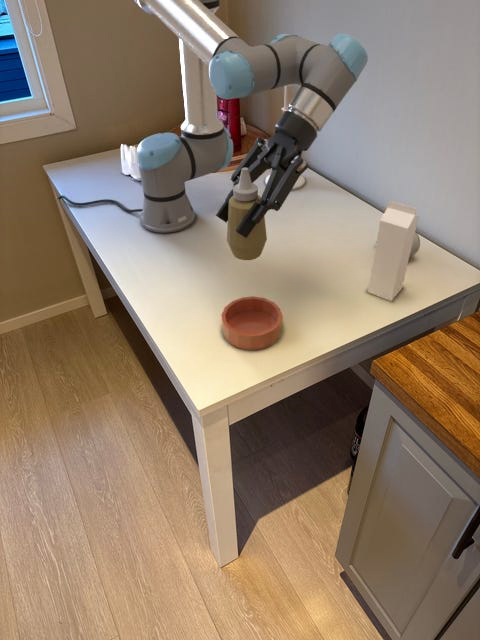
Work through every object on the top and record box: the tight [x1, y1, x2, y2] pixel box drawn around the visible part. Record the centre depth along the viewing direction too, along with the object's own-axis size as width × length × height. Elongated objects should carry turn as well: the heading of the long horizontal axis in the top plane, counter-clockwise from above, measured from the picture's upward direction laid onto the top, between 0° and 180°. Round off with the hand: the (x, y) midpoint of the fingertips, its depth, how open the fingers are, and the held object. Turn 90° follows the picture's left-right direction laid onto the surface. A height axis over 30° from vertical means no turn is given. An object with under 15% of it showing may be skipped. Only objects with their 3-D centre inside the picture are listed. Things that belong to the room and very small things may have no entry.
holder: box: [220, 295, 284, 351], centre depth 103 cm, size 13×13×4 cm
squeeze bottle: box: [226, 168, 268, 261], centre depth 93 cm, size 8×8×18 cm
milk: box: [367, 200, 420, 302], centre depth 106 cm, size 6×6×22 cm
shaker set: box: [120, 143, 141, 182], centre depth 160 cm, size 12×4×11 cm, turn 39°
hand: (230, 226), depth 93 cm, fingers closed on squeeze bottle, 6 cm apart
